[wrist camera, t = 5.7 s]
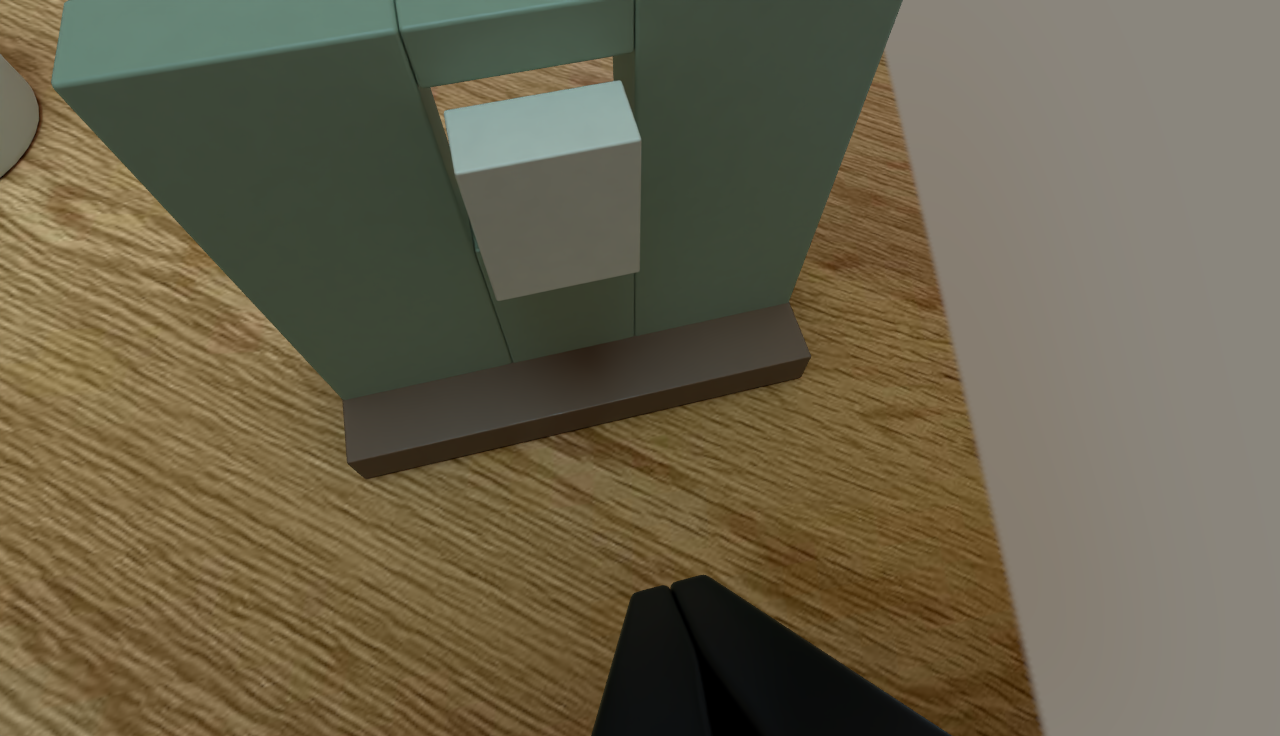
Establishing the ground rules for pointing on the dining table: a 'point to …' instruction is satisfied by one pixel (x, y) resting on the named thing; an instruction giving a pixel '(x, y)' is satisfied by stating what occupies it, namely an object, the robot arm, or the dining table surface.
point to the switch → (551, 186)
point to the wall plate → (435, 211)
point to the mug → (15, 116)
